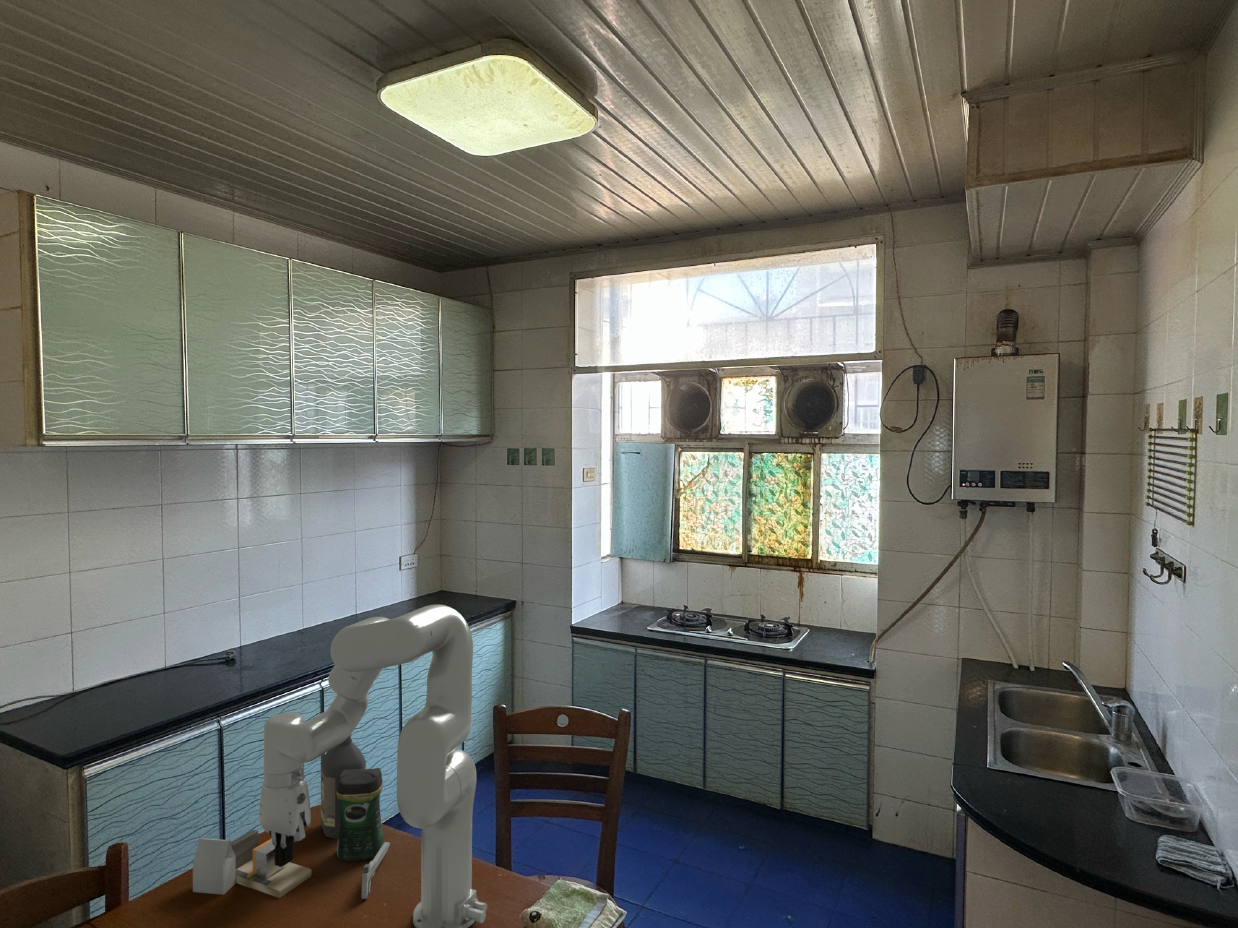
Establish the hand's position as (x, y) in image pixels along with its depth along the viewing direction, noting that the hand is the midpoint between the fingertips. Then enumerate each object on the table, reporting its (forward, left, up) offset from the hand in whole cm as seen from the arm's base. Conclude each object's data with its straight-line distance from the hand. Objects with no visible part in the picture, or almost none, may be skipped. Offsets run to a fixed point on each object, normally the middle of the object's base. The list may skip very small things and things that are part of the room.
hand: (283, 862), depth 147 cm
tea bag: (+12, +7, -4) cm, 14 cm away
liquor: (+5, -22, -4) cm, 23 cm away
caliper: (-15, -11, -5) cm, 19 cm away
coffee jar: (-6, -15, -4) cm, 17 cm away
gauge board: (+5, 0, -4) cm, 6 cm away
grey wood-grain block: (+4, 0, -2) cm, 4 cm away
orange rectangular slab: (+6, +1, -2) cm, 6 cm away
